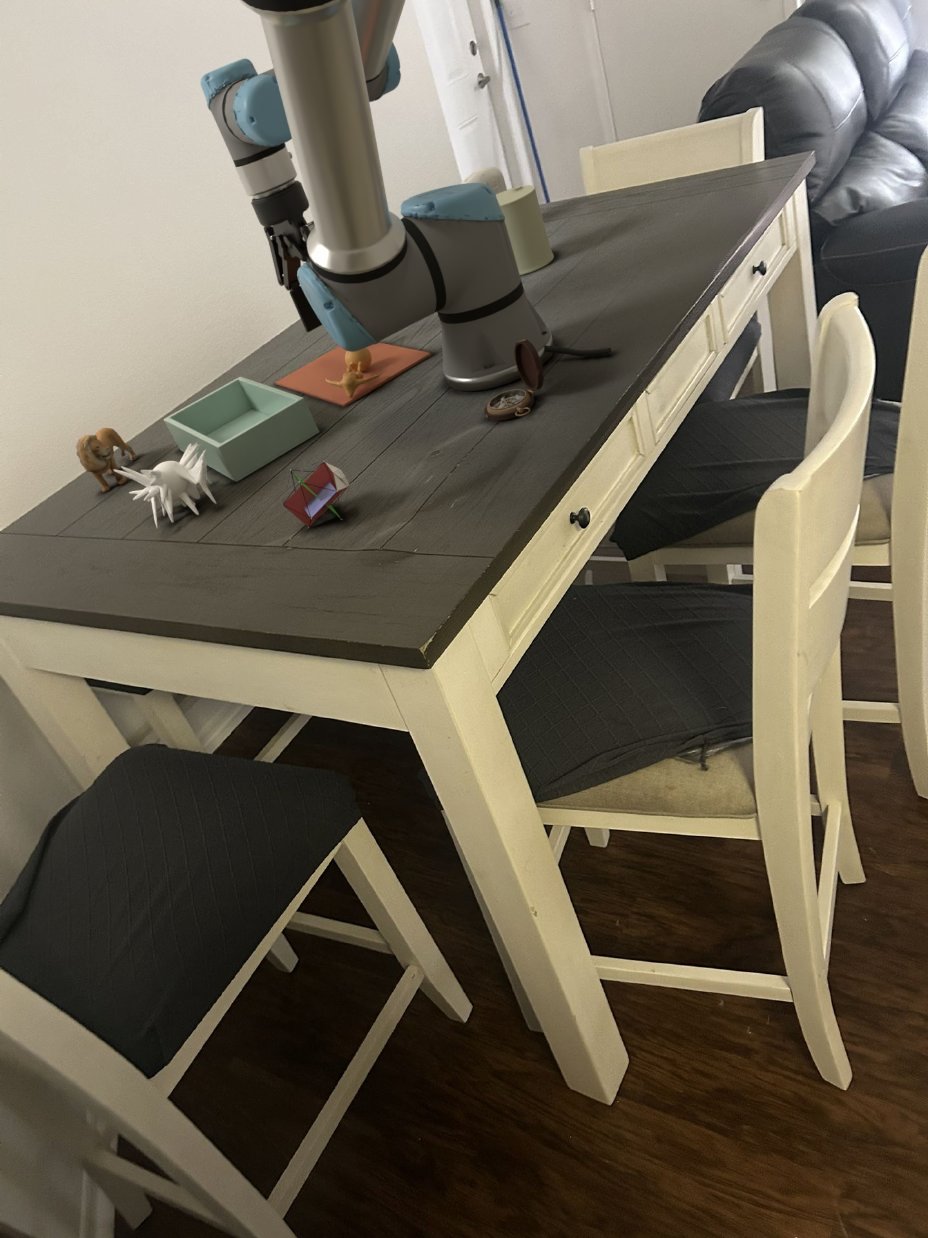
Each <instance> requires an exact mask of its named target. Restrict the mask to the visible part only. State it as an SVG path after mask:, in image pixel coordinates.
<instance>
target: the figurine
mask: <svg viewBox="0 0 928 1238" xmlns="http://www.w3.org/2000/svg"><path fill="white" fill-rule="evenodd" d="M345 361H346V364H347V366H348V368H347V372H348V373H347V372H346V373H345V374H344V375H343V379H342V381H341V382H337V381H330V380H327V379H326V378H325V379H326V382H327V383H329V384H331V385H335V386H339V387H341V388H343V389H344V390H345V391H346V393H347V395H348V397H349V398H352V397H353V395H354V391H355V389H356V388H357V387H358V386H359V385H361V384H363V383H366V382H368V381H370V380H372V379H375V378H377V377H379V376H380V375H381V373H380V374H378V375H374V376H371V377H368V378H364V379H362V378H363V373H362V371H365V370H366V369H368V367H369V366H370V364H371V361H372V357H371V353H370V351H369V350H368V349H367V348H363V349H361V350H358V351H354V352H350V351H347V352H346V354H345ZM352 370H353V371H355V372H356V373H353V372H352ZM357 379H361V380H357Z"/></svg>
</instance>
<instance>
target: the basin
mask: <svg viewBox="0 0 928 1238" xmlns="http://www.w3.org/2000/svg"><path fill="white" fill-rule="evenodd" d="M163 421H164V424H165V425H166V427H167V429H168V431H169V433H170V434H171V436H172V437H173V438H172V439H174V441H175V443H176V445H177V446H178V449H179V451H181V452H183V453H185V451H186V449H187V447H188V446H189V444H191V447H192V446H193V445H195V444H196V443H197V444H198V445H199V444H200V445H199V447H198V450H197V452H199V453H198V456H197V459H199V458H200V456H201V454H202V453H203V451H204V450H205V449H206V452H205V457H206V465H207V467H209V468H211V469H213V470H215V471H216V472H218V473H219V474H221V475H223V476H225V477H226V478H229V479H230V480H232V481H234V482H236V483H237V482H239V481H241V480H242V479H244V478H245V477H247V476H249V475H251V474H252V473H254V472H256V471H257V470H259V469H261V468H262V467H265V466H266V465H268V464H269V463H271V462H273V461H275V460H276V459H277V458H279V457H280V456H282V455H285V454H286V453H287V452H289V451H291V450H293V449H294V448H296V447H298V446H299V445H301V444H302V443H304V442H306V441H307V440H309V439H311V438H312V437H314V436H316V435H317V434H319V433H320V429H319V428H318V426H317V423H316V421H315V419H314V417H313V415H312V413H311V410H310V408H309V406H308V404H307V401H306V399H305V397H302V396H300V395H296V394H294V393H290V392H288V391H284V390H281V389H279V388H277V387H276V388H275V387H273V386H269V385H267V384H264V383H260V382H258V381H255V380H252V379H249V378H245V377H243V376H239V377H237V378H235V379H233V380H231V381H229V382H228V383H226V384H224V385H222V386H221V387H218V388H216V389H215V390H213V391H212V392H210V393H208V394H206V395H205V396H203V397H201V398H199V399H197V400H196V401H194V402H192V403H190V404H188V405H186V406H185V407H183V408H181V409H179V410H178V411H176V412H174V413H172V414H170V415H168V416H167V417H165V418H163Z"/></svg>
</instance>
